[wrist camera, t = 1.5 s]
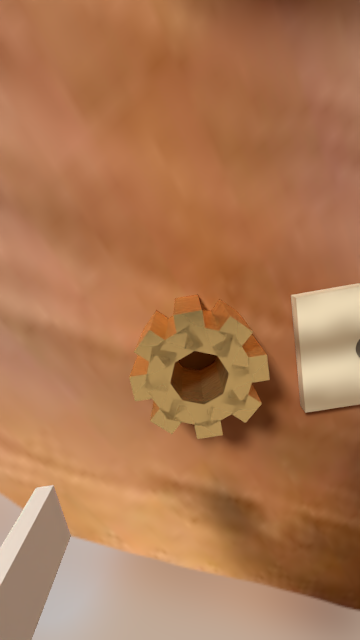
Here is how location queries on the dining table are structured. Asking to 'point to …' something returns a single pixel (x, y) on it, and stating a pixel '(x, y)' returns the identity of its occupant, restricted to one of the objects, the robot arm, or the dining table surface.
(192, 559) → the dining table surface
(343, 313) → the gear board
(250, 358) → the brass gear
